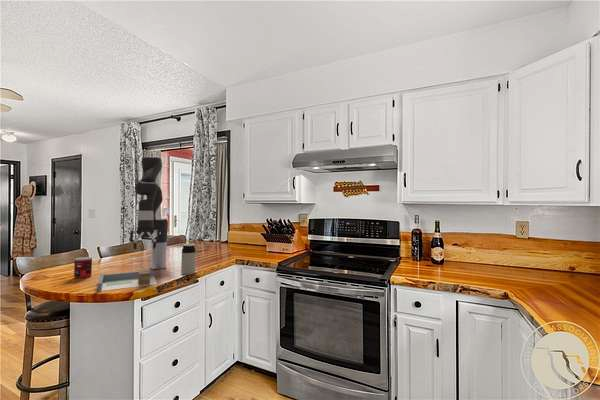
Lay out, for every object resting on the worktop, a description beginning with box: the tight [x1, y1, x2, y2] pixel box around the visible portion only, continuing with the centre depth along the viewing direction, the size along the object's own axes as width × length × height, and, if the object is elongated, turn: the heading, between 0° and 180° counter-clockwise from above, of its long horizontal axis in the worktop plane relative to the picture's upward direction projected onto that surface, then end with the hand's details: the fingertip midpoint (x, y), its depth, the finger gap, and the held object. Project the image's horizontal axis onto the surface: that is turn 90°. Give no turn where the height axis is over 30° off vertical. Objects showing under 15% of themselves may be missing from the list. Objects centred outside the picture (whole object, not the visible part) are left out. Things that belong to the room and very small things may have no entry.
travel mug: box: [180, 243, 196, 276], centre depth 177 cm, size 8×8×18 cm
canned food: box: [73, 256, 93, 280], centre depth 163 cm, size 8×8×11 cm
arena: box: [97, 269, 158, 292], centre depth 152 cm, size 20×26×4 cm
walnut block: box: [138, 268, 150, 287], centre depth 152 cm, size 10×5×6 cm, turn 32°
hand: (144, 249), depth 153 cm, fingers open, 8 cm apart
